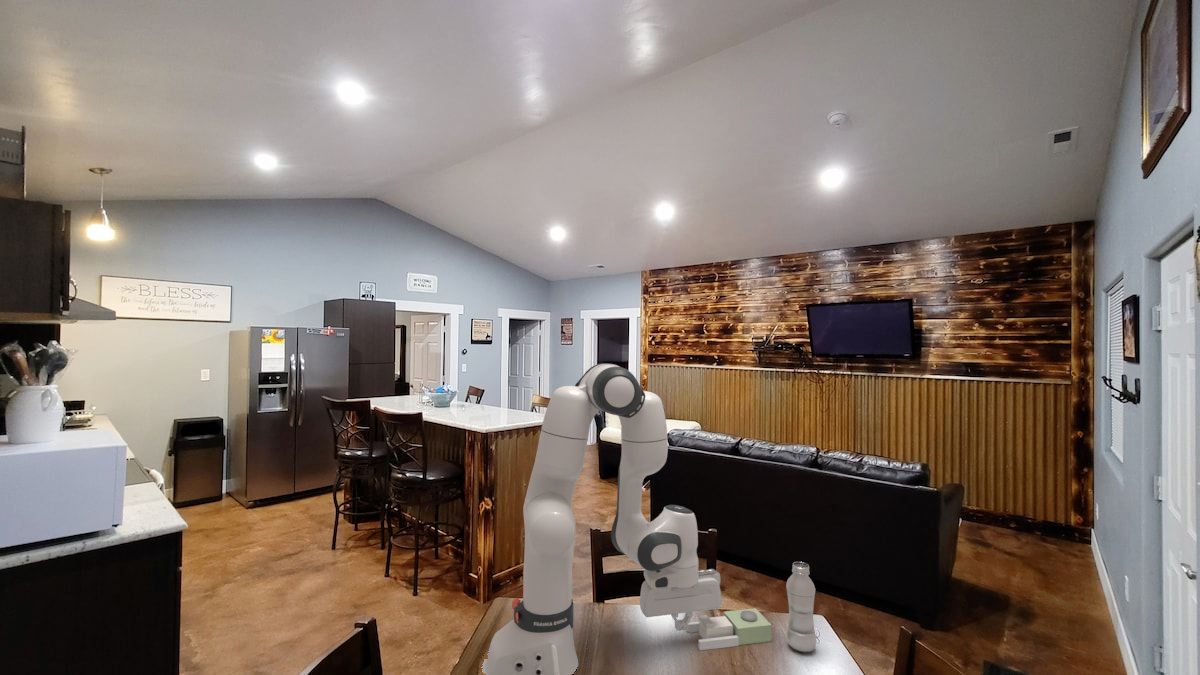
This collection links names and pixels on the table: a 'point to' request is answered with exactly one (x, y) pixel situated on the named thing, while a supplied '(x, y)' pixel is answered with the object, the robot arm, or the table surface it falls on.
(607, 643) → the table surface
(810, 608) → the plastic bottle
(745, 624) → the pale green forked block
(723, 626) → the white stepped block
